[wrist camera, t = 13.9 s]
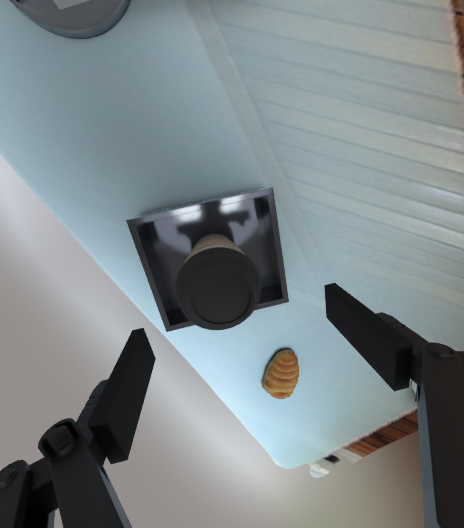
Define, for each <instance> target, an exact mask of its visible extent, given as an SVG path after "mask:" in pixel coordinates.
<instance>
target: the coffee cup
mask: <svg viewBox="0 0 464 528" xmlns="http://www.w3.org/2000/svg"><path fill="white" fill-rule="evenodd" d="M175 291H176V297H177V300H178V303H179V305H180V308H181V310H182V312H183V313H184V315H185V316H186V317H187V318H188V319H189V320H190V321H191V322H192V323H194V324H195V325H197V326H199V327H202V328H205V329H209V330H224V329H228V328H231V327H234V326H236V325H238V324H240V323H241V322H243V321H244V320H246V319H247V318H248V317H249V316H250V315H251V314H252V312H253V311H254V309H255V308H256V306H257V304H258V302H259V299H260V294H261V277H260V274H259V271H258V269H257V267H256V266H255V264H254V263H253V262H252V260H251V259H250V258H248V257H247V256H246V255H245V254H244V253H243V252H242V251H241V250H240V249H239V248H238V247H237V246H236V245H235V244H234V243H233V242H232V241H230V240H229V239H228V238H227V237H225V236H223V235H221V234H209V235H206V236H204V237H202V238H201V239H200V240H199V241H198V242H197V243H196V245H195V246H194V248H193V249H192V251H191V252H190V254H189V256H188V257H187V259H186V261H185V262H184V264H183V266H182V267H181V269H180V271H179V273H178V275H177V279H176V284H175Z"/></svg>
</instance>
